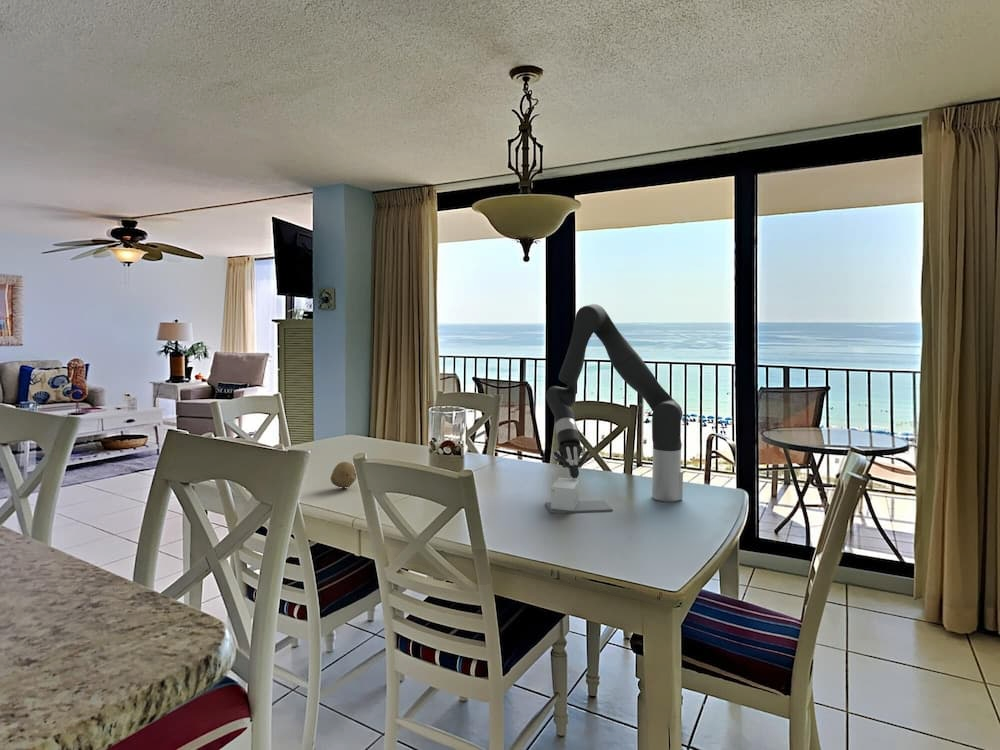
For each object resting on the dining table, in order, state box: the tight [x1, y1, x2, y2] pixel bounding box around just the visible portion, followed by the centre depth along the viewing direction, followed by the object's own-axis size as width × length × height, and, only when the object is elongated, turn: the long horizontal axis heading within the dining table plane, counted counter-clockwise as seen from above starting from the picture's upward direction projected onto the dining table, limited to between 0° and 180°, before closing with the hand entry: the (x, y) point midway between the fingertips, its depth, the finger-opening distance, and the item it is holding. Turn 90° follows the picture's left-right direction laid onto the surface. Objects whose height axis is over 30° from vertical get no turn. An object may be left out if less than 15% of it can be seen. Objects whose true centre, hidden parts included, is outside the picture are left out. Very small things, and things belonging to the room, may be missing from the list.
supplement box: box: [550, 477, 580, 511], centre depth 196 cm, size 7×7×13 cm
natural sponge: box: [330, 461, 357, 488], centre depth 218 cm, size 9×9×10 cm
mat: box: [544, 499, 614, 515], centre depth 195 cm, size 20×10×1 cm, turn 96°
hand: (575, 477), depth 199 cm, fingers closed
